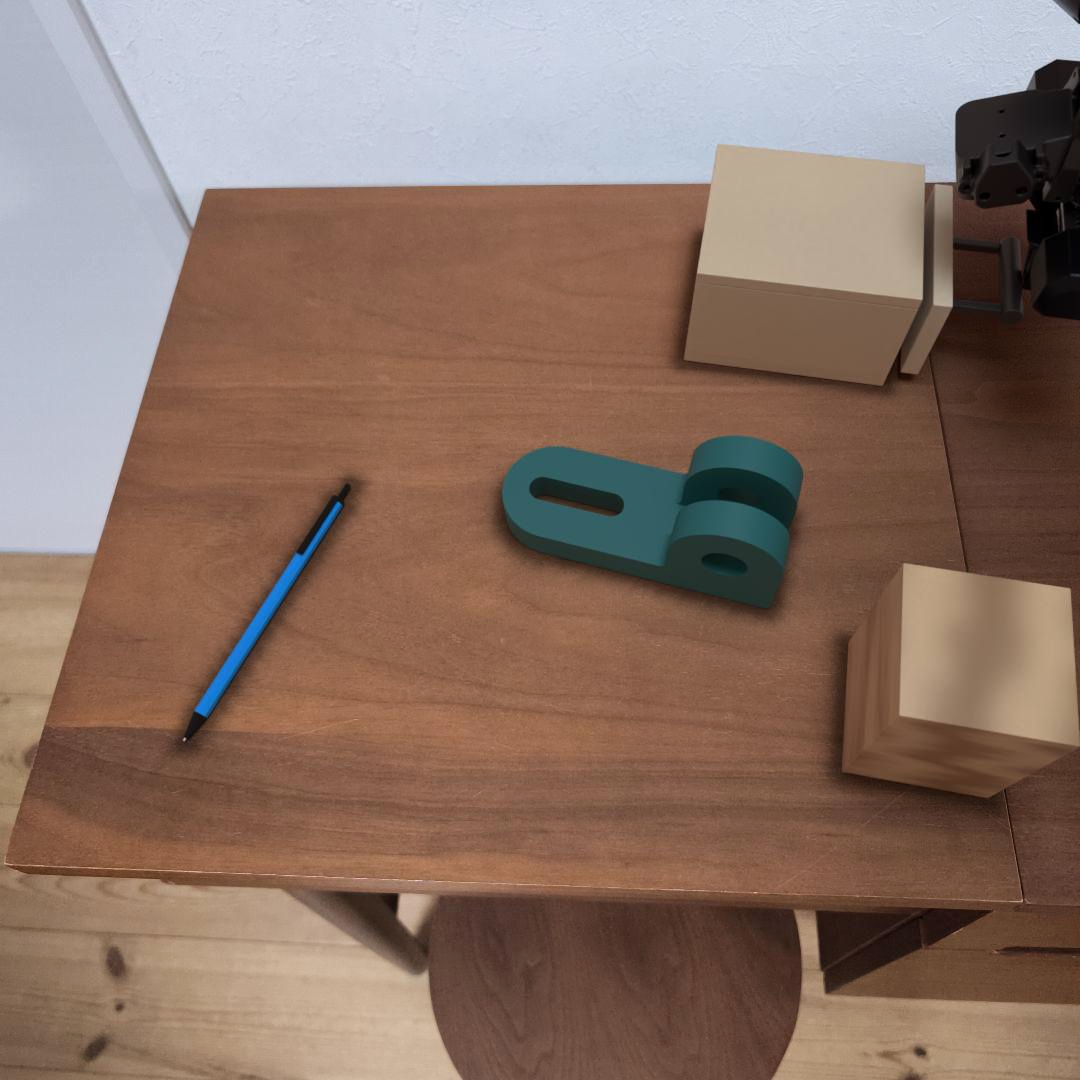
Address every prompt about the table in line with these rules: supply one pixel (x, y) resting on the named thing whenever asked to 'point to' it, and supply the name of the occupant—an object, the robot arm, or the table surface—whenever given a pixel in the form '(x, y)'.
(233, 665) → the pen
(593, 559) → the bracket
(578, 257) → the table surface
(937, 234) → the drawer
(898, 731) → the stand
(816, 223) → the cabinet
